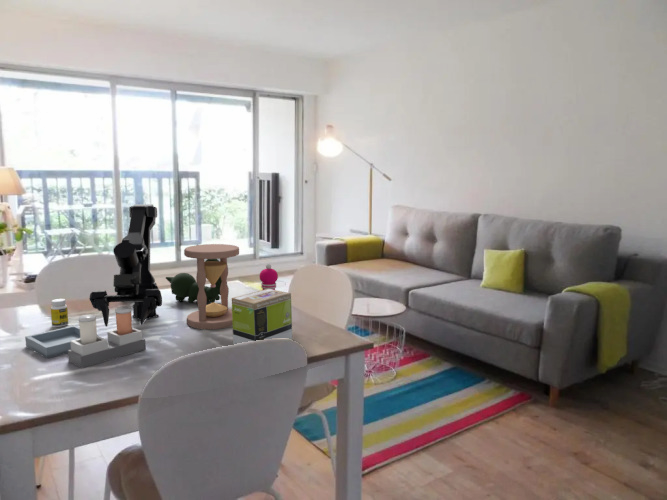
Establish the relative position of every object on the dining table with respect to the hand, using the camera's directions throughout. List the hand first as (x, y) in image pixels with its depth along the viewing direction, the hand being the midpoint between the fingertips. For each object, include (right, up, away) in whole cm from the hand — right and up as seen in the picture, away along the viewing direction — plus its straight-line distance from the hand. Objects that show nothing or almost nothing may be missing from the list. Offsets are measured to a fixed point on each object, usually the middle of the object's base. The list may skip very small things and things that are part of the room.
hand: (123, 325), depth 141 cm
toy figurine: (+6, +1, +54) cm, 54 cm away
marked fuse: (0, -4, +2) cm, 5 cm away
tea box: (+37, -7, +9) cm, 39 cm away
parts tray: (-20, -7, +5) cm, 21 cm away
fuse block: (-3, -8, -2) cm, 9 cm away
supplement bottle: (-30, -4, +24) cm, 39 cm away
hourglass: (+18, -3, +30) cm, 35 cm away
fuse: (-6, -6, -6) cm, 11 cm away
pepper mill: (+37, -4, +29) cm, 47 cm away
